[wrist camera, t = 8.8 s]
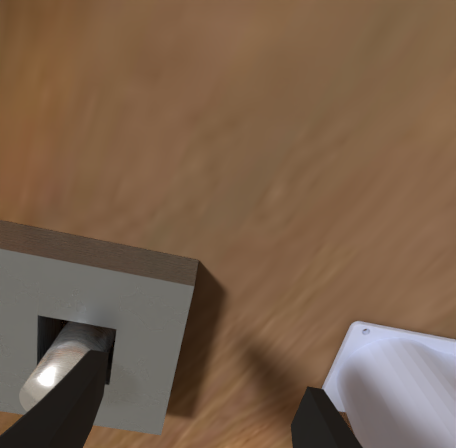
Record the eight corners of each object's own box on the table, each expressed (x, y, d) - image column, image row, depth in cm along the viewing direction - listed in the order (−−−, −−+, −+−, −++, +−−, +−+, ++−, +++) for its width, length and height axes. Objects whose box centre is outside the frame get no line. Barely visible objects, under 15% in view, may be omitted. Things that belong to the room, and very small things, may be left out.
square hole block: (198, 260, 20) (194, 286, 17) (168, 396, 24) (160, 435, 21) (-145, 190, 18) (-212, 207, 15) (-113, 351, 22) (-160, 386, 20)
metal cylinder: (120, 307, 21) (84, 382, 16) (118, 344, 22) (83, 426, 17) (71, 300, 21) (17, 373, 15) (71, 338, 22) (20, 419, 17)
